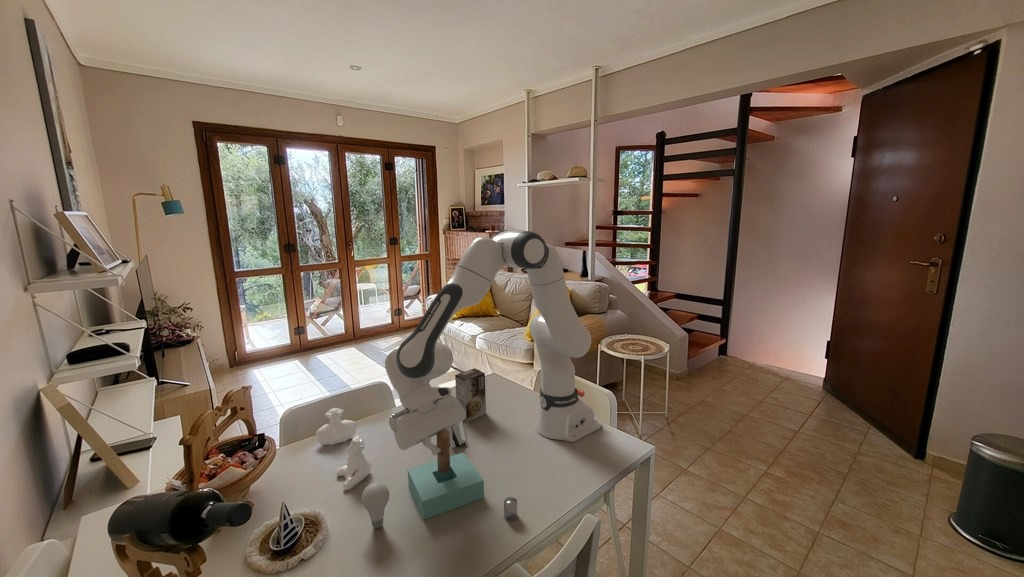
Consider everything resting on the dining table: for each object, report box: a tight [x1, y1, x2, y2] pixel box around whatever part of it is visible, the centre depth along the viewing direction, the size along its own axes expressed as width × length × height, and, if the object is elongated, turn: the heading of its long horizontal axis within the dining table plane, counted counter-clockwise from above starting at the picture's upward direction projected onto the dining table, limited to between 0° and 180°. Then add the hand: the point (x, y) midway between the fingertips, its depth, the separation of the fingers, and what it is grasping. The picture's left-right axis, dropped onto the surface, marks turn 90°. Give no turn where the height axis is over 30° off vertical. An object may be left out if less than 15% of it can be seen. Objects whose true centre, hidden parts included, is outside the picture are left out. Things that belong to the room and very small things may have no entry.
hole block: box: [407, 452, 485, 521], centre depth 106 cm, size 16×14×5 cm
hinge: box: [451, 420, 469, 449], centre depth 134 cm, size 17×5×10 cm, turn 13°
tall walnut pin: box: [436, 431, 451, 473], centre depth 105 cm, size 3×3×10 cm
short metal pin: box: [503, 496, 518, 522], centre depth 98 cm, size 3×3×4 cm
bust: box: [315, 407, 357, 446], centre depth 132 cm, size 12×8×11 cm
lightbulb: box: [361, 481, 390, 529], centre depth 94 cm, size 6×6×11 cm
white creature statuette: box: [336, 434, 372, 491], centre depth 112 cm, size 10×9×12 cm
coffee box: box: [454, 367, 487, 423], centre depth 146 cm, size 9×6×16 cm
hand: (444, 449), depth 104 cm, fingers closed on tall walnut pin, 3 cm apart
